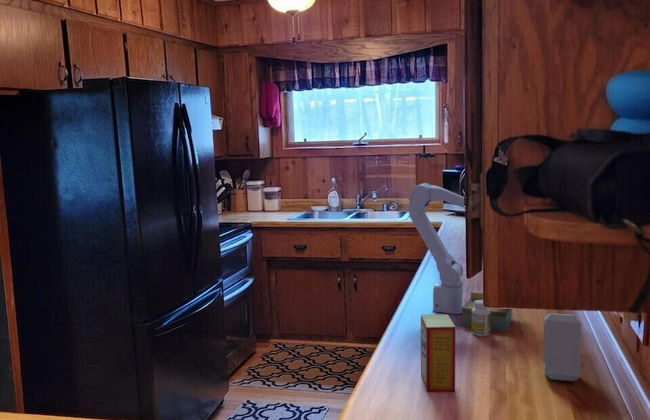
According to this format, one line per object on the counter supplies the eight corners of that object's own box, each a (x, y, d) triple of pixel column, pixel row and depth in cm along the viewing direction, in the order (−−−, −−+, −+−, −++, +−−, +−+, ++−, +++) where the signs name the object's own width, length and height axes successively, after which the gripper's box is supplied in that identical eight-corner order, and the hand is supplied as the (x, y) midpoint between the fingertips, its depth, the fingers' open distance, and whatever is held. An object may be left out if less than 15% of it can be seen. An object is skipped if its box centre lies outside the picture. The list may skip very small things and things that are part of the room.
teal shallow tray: (462, 325, 181) (462, 311, 181) (470, 315, 191) (470, 302, 191) (505, 331, 176) (506, 316, 175) (511, 320, 186) (511, 306, 185)
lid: (462, 311, 181) (462, 299, 180) (470, 301, 191) (470, 290, 190) (506, 315, 175) (506, 304, 175) (512, 305, 185) (512, 294, 185)
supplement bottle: (483, 329, 178) (483, 298, 177) (493, 335, 173) (494, 303, 172) (467, 331, 176) (468, 300, 175) (478, 337, 171) (478, 305, 170)
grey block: (538, 309, 168) (545, 314, 140) (568, 310, 166) (581, 316, 138) (538, 362, 167) (544, 379, 138) (567, 365, 164) (580, 382, 136)
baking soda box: (421, 375, 146) (420, 313, 144) (447, 375, 146) (447, 312, 144) (426, 392, 136) (426, 325, 134) (455, 391, 136) (455, 325, 134)
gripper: (506, 248, 181) (505, 291, 182) (513, 240, 194) (512, 280, 195) (483, 247, 184) (482, 289, 186) (491, 239, 197) (491, 278, 198)
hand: (496, 284), depth 191 cm, fingers open, 6 cm apart
